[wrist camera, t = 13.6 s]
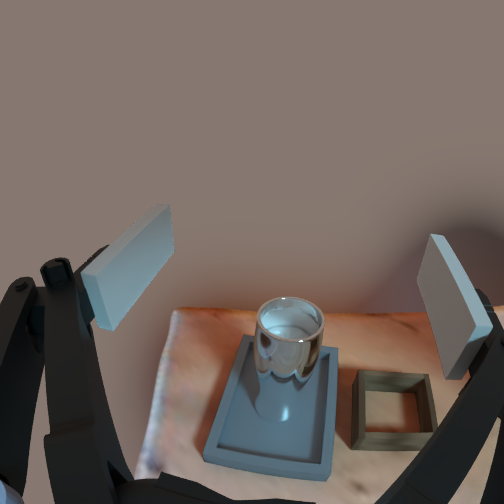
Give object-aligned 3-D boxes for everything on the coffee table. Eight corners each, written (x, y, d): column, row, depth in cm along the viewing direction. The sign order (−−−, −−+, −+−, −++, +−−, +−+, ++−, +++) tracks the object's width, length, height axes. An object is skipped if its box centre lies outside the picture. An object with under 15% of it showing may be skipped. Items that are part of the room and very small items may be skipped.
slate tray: (334, 359, 46) (338, 347, 45) (325, 481, 29) (330, 474, 28) (243, 345, 48) (243, 334, 47) (204, 461, 31) (202, 453, 30)
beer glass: (307, 386, 40) (328, 299, 33) (301, 429, 34) (326, 347, 27) (256, 378, 42) (262, 290, 34) (245, 420, 36) (247, 336, 28)
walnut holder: (419, 388, 40) (428, 374, 38) (427, 450, 31) (439, 437, 29) (352, 384, 41) (358, 369, 40) (350, 449, 32) (358, 437, 31)
